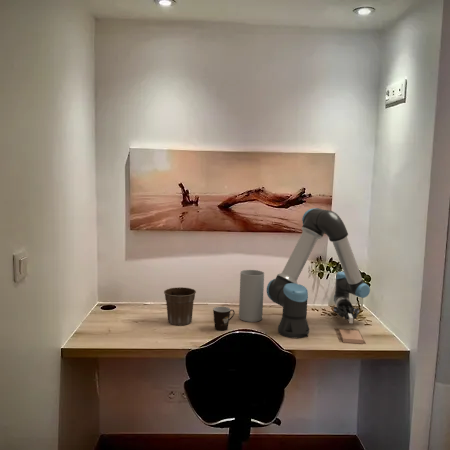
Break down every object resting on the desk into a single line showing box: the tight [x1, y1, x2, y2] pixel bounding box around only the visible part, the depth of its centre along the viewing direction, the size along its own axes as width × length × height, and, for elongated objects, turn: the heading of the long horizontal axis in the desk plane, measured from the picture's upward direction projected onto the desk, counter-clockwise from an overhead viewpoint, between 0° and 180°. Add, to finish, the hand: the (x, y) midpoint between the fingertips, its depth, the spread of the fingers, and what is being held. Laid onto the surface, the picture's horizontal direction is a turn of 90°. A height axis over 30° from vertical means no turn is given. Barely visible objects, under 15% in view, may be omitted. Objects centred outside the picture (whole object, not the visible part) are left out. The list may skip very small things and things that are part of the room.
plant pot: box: [163, 287, 197, 326], centre depth 232 cm, size 16×16×16 cm
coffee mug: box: [212, 306, 236, 332], centre depth 225 cm, size 12×9×10 cm
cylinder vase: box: [238, 269, 265, 323], centre depth 240 cm, size 12×12×25 cm
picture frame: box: [339, 329, 364, 345], centre depth 215 cm, size 2×9×12 cm
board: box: [333, 327, 367, 345], centre depth 219 cm, size 19×12×1 cm, turn 174°
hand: (351, 320), depth 216 cm, fingers closed
